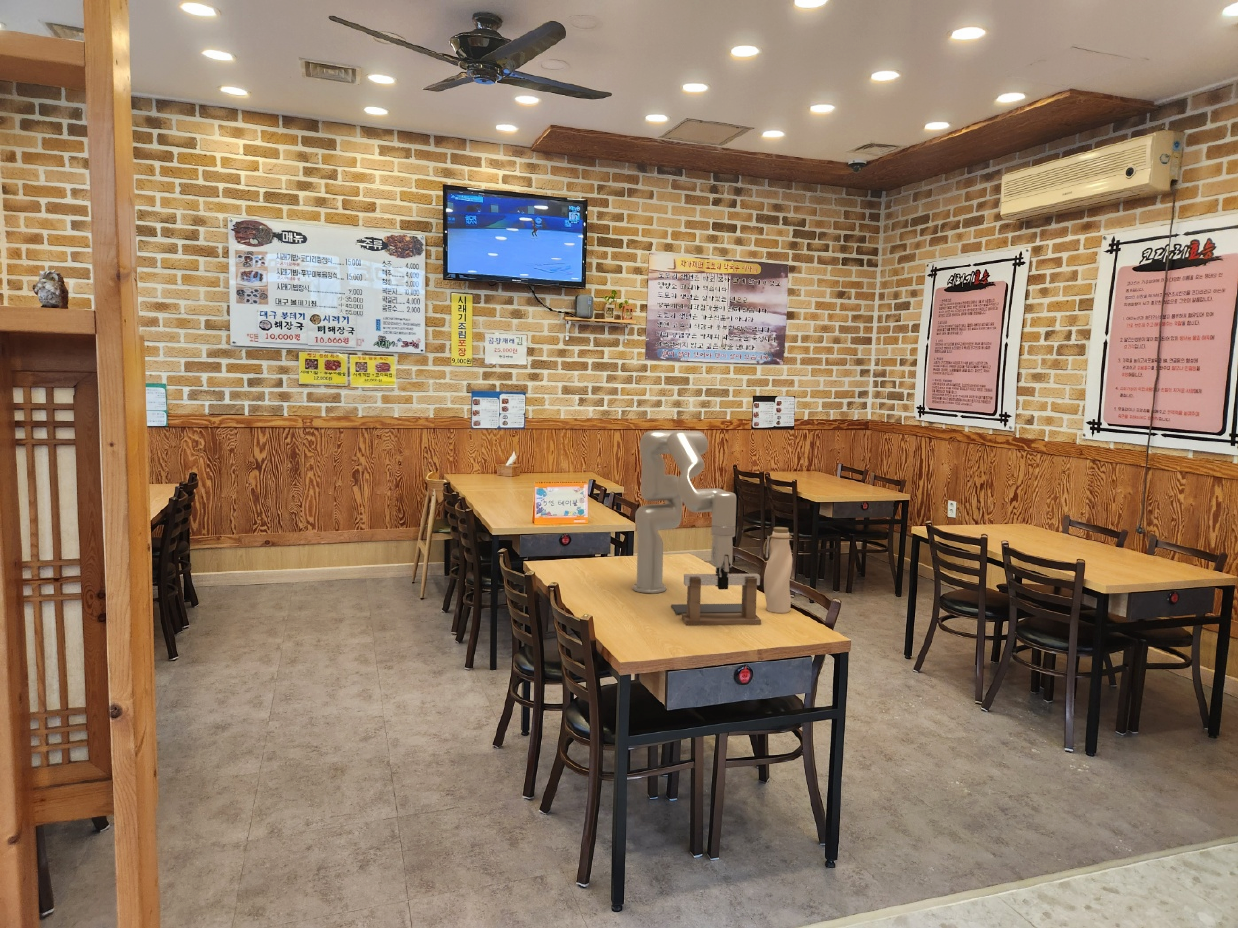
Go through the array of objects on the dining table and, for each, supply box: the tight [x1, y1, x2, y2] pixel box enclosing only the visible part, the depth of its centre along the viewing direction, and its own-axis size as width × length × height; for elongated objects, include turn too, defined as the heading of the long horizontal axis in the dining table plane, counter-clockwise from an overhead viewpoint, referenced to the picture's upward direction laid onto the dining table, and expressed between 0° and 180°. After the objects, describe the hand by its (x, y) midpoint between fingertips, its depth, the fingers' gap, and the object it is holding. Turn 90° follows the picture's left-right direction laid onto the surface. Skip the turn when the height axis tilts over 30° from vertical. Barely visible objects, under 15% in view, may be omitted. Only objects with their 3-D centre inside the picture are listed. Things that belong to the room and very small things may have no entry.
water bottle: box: [762, 526, 793, 614], centre depth 266 cm, size 10×9×28 cm
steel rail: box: [683, 573, 761, 587], centre depth 252 cm, size 3×24×3 cm, turn 96°
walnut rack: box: [681, 578, 762, 626], centre depth 252 cm, size 8×24×14 cm, turn 96°
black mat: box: [670, 603, 742, 616], centre depth 266 cm, size 10×26×1 cm, turn 96°
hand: (721, 587), depth 252 cm, fingers closed on steel rail, 3 cm apart
